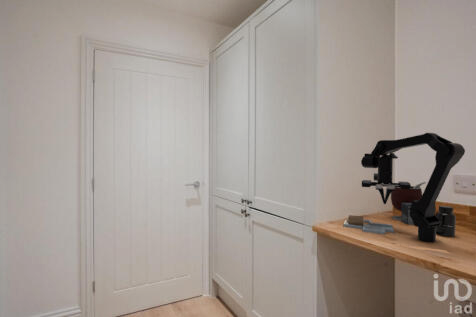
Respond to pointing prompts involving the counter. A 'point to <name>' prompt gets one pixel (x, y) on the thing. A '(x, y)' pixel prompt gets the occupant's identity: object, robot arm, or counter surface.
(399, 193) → the mate gourd
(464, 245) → the counter surface
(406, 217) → the small box
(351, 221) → the walnut block
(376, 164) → the robot arm
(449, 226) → the supplement bottle
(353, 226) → the trap tray
